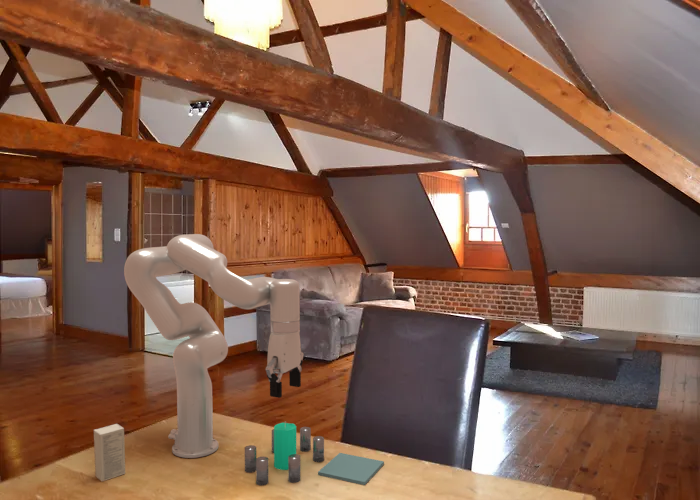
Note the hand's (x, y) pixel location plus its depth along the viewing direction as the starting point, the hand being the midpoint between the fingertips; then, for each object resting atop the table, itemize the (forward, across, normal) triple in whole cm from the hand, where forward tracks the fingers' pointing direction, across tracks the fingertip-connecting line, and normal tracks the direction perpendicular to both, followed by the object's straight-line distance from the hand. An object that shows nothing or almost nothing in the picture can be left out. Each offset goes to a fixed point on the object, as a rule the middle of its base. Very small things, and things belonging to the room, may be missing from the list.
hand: (285, 391), depth 152 cm
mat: (+20, -5, +17) cm, 27 cm away
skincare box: (+20, +24, -37) cm, 49 cm away
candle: (+20, 0, 0) cm, 20 cm away
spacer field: (+20, 0, 0) cm, 20 cm away
